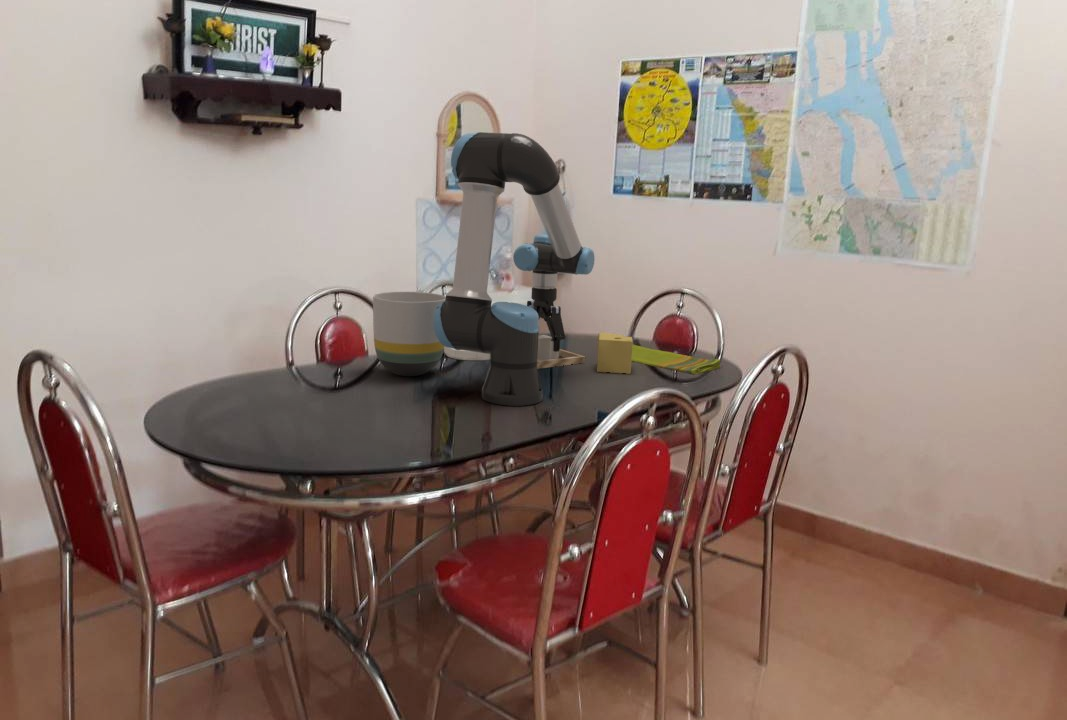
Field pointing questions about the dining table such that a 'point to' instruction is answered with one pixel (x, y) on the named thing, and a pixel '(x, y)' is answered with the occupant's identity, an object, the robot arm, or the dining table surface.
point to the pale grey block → (543, 347)
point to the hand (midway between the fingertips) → (541, 357)
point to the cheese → (614, 353)
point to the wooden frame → (562, 360)
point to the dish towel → (673, 360)
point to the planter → (406, 331)
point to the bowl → (466, 354)
